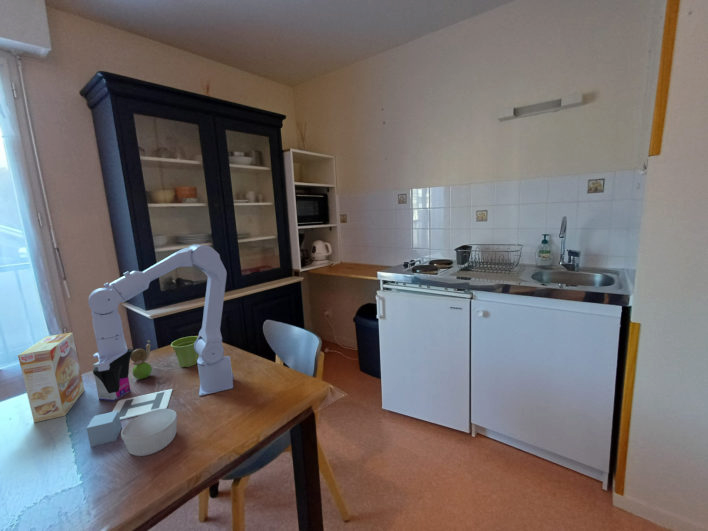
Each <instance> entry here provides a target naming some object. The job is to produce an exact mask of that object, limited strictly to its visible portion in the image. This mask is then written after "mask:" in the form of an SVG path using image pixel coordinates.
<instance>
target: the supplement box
mask: <svg viewBox="0 0 708 531" xmlns="http://www.w3.org/2000/svg"><path fill="white" fill-rule="evenodd" d="M98 363H99V361H97V362H96V363H93V364H92V369H93V370H94V369H95V368H96V367H98V365H97V364H98ZM94 381H95V386H96V392H97V395H98V401H105V402H106V401H108V402H115V401H117V400H118V399H120V398H121V397H123V396H125V395H126V394H128V393H130V392H131V391H132V390H131V386H130V384H131V383H130V379H129V376H128V377H127V378H122V379H120V388H119V391H118V392H114V393H108V391H107V390H106V388H105V386H104V384H103V383H102V381H101V380H100V379H99V378H98V377H97V376H95V375H94Z"/></svg>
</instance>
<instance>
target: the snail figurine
mask: <svg viewBox="0 0 708 531" xmlns="http://www.w3.org/2000/svg"><path fill="white" fill-rule="evenodd" d="M146 341H147V342H148V343H147V344H146V345H145V348H146V349H143V348H135V350H133V352H132V354H131V358H130V361H132V363H131V364H132V365H134V367H133V368H132V372H131V373H132V376H133V377H134V378H135V379H138V380H144V379H146V378H148V377H149V376H150V375H151V373H152V370H153V367H152V365H151V364H150V363H149V362H146V361H147V360H148V359H149V357H150V355H151V354H150V353H151V344H150V343H151V341H150V340H146Z"/></svg>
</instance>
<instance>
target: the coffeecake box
mask: <svg viewBox="0 0 708 531" xmlns="http://www.w3.org/2000/svg"><path fill="white" fill-rule="evenodd" d="M75 342H76V341H75V336H74V332H65V333H59V334H54V335H48V336H46V335H45V336H44V337H43V338H42V339H40V340H38V341H37V342H35V343H34V344H33V345H31V346H30V347H29V346H28V348H26V349H25V350H24V351H22V352H21V353H19V354H18V355H17V359H18V361H19V365H20V370H21V374H22V378H23V383H24V386H25V391H26V395H27V399H28V403H29V408H30V411H31V412H30V413H31V416H32V419H33V423H38V422H42V421H43V422H44V421H47V420H48V421H49V420H51V419H57V418H61V417H65V416H66V415H67V414H68V412H69V411H70V410H71V409H72V408H73V406H74V405H75V403H76V402H77V401H78V399H79V398H80V397H81V396H82V394H83V393H84V392H85V390H86V389H85V385H84V381H83V378H82V377H83V376H82V372H81V368H80V362H79V359H78V358H79V357H78V353H77V349H76V343H75Z"/></svg>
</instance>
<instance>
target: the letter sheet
mask: <svg viewBox="0 0 708 531" xmlns="http://www.w3.org/2000/svg"><path fill="white" fill-rule="evenodd" d="M172 393H173V388H169V389H165V390H164V389H163V390H161V391H156V392H152V393H148V394H142V395H138V396H133V397H127V398H123V399H120V400H118V401H117V402H116V404H115V406H114V408H113V409H112V411H111V412H114V411H119V416H120V421H123V420H127V419H131V418H136V417H138V416H140V415H142V414H144V413H147V412H150V411H153V410H157V409H168V407H169V403H170V399H171V396H172Z"/></svg>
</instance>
